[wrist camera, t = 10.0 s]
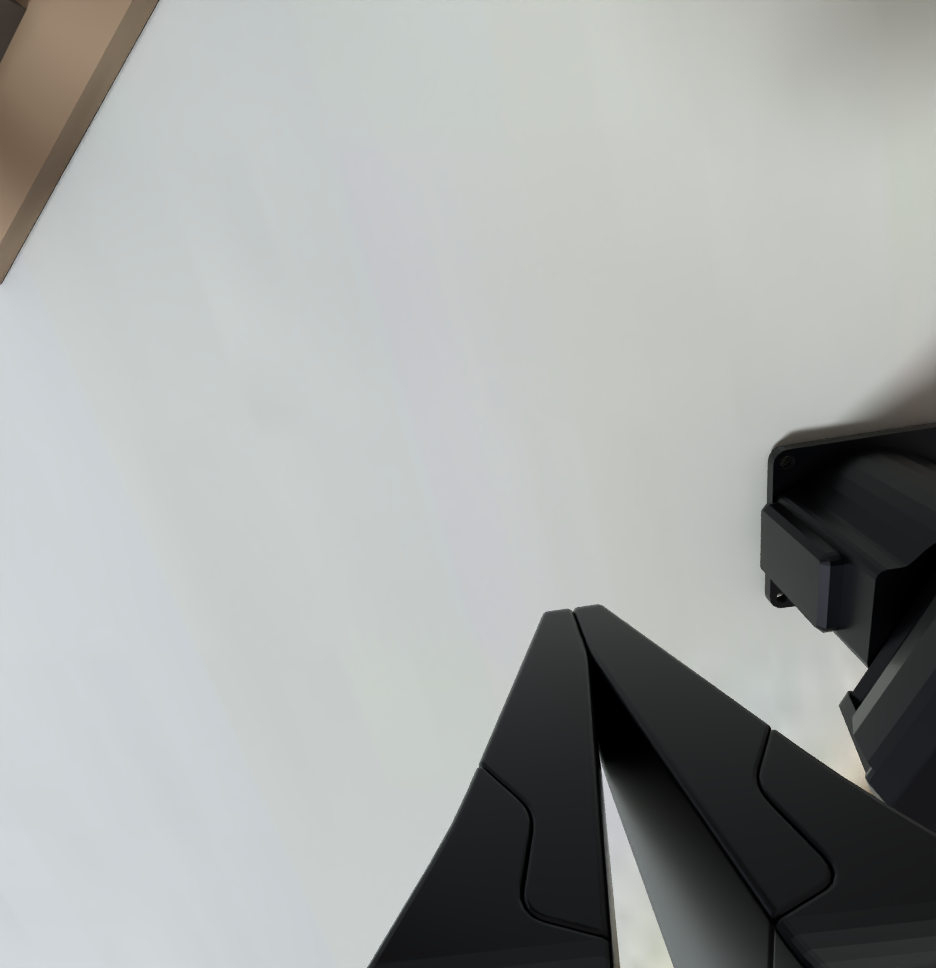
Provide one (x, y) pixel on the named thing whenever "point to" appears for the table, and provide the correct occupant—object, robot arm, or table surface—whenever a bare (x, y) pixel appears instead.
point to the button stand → (52, 95)
